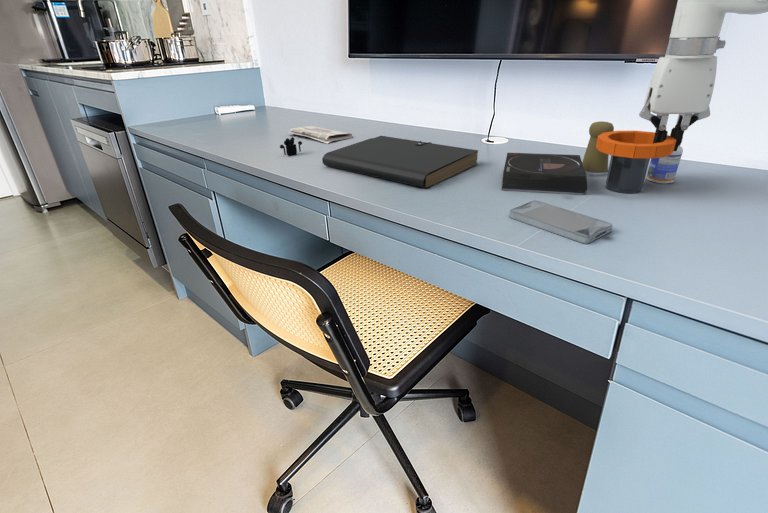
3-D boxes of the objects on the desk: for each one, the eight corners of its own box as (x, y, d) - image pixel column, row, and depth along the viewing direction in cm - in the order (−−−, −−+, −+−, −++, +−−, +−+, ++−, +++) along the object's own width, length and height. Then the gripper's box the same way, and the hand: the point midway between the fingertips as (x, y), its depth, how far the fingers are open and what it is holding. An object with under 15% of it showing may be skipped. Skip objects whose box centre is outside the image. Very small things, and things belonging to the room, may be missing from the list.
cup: (636, 183, 95) (645, 146, 91) (646, 194, 89) (656, 155, 85) (601, 182, 97) (609, 146, 93) (609, 193, 91) (617, 155, 87)
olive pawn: (594, 173, 102) (603, 125, 97) (575, 167, 107) (582, 121, 102) (613, 169, 104) (623, 122, 99) (593, 163, 109) (601, 118, 104)
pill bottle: (645, 175, 100) (656, 132, 95) (673, 177, 97) (685, 133, 93) (646, 182, 95) (657, 137, 91) (675, 185, 93) (688, 139, 89)
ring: (658, 141, 93) (661, 130, 92) (683, 158, 82) (687, 145, 81) (590, 141, 96) (592, 130, 95) (605, 158, 84) (607, 145, 83)
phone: (586, 245, 70) (587, 237, 70) (506, 216, 82) (507, 210, 81) (613, 230, 74) (614, 224, 74) (533, 205, 86) (534, 199, 85)
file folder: (479, 148, 110) (423, 174, 95) (478, 164, 112) (423, 192, 97) (381, 134, 130) (321, 153, 114) (382, 147, 132) (323, 168, 116)
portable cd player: (586, 195, 90) (590, 176, 88) (501, 190, 95) (503, 172, 93) (579, 171, 104) (582, 155, 102) (505, 168, 109) (507, 152, 107)
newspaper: (286, 135, 154) (285, 127, 153) (315, 132, 162) (314, 125, 160) (324, 144, 139) (323, 136, 138) (353, 140, 146) (353, 133, 145)
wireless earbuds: (282, 157, 127) (279, 140, 124) (278, 156, 128) (276, 138, 126) (304, 153, 130) (301, 136, 128) (300, 151, 132) (298, 135, 130)
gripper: (729, 45, 81) (700, 145, 89) (636, 49, 84) (617, 145, 93) (751, 47, 74) (717, 154, 83) (649, 51, 78) (627, 154, 86)
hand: (665, 148), depth 88 cm, fingers closed on ring, 1 cm apart
